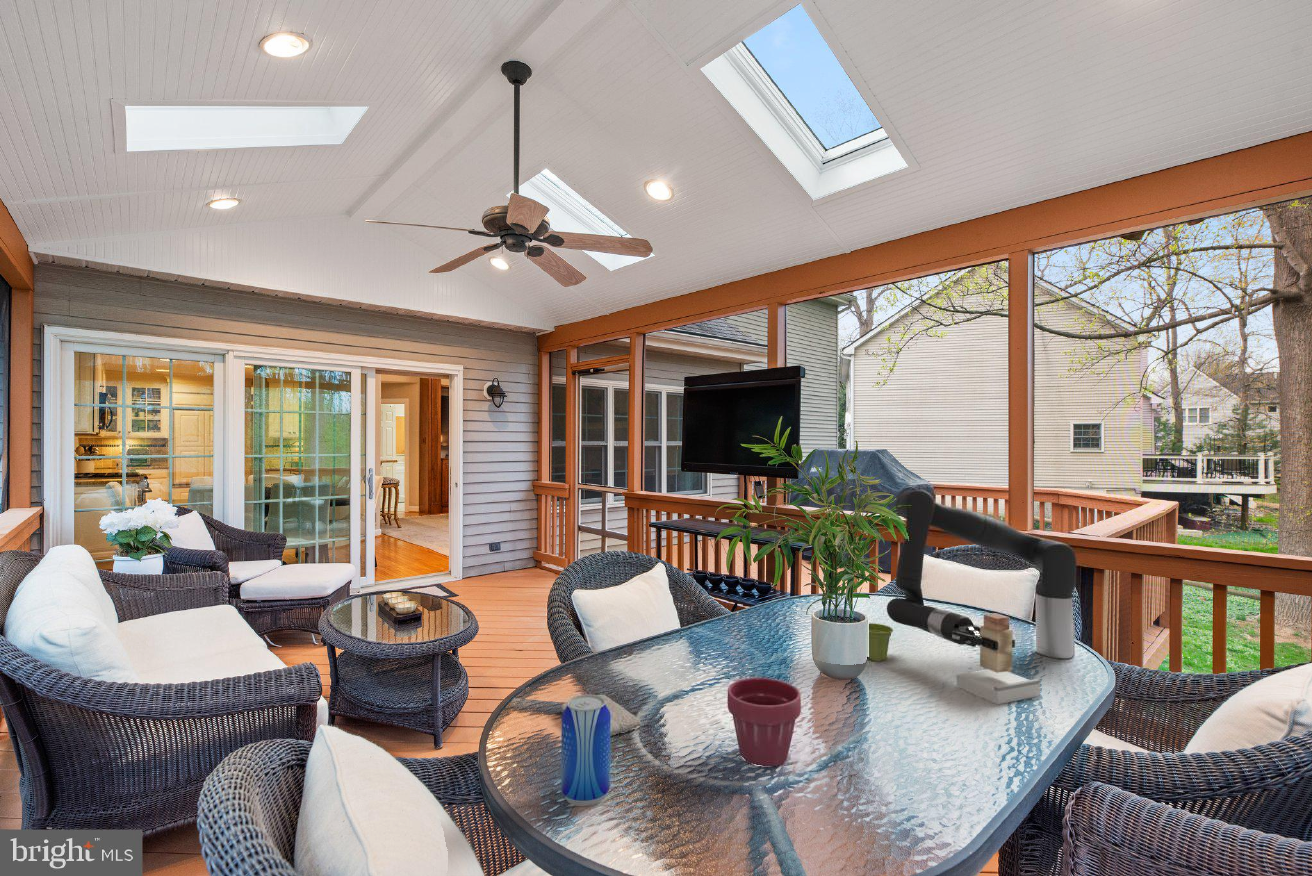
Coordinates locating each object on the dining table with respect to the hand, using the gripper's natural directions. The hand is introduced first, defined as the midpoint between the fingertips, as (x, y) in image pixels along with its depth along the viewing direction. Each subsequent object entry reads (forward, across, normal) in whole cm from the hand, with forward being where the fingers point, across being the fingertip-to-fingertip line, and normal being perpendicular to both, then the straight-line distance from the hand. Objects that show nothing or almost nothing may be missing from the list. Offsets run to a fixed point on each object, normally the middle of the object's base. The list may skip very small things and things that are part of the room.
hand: (1005, 645), depth 154 cm
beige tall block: (-3, 0, +6) cm, 7 cm away
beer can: (+7, -108, +13) cm, 109 cm away
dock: (-2, 0, +12) cm, 12 cm away
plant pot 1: (+6, -72, +13) cm, 73 cm away
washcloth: (-21, -97, +14) cm, 100 cm away
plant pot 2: (-33, -11, +13) cm, 37 cm away
